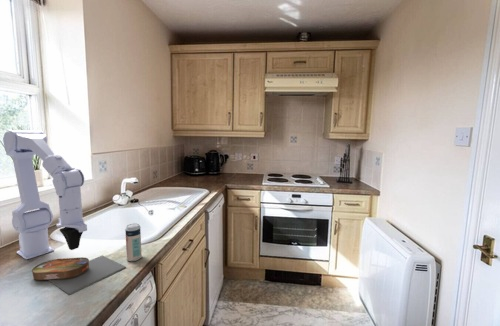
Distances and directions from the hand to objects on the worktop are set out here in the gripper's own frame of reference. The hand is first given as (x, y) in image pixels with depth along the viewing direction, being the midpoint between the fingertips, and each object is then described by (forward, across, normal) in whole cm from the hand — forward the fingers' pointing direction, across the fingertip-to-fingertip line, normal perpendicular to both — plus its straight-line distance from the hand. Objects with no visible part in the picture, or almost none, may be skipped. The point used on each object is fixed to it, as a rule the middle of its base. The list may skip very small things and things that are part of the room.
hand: (73, 248), depth 79 cm
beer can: (+6, +12, +13) cm, 19 cm away
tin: (+5, 0, -1) cm, 5 cm away
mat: (+6, +8, 0) cm, 10 cm away
